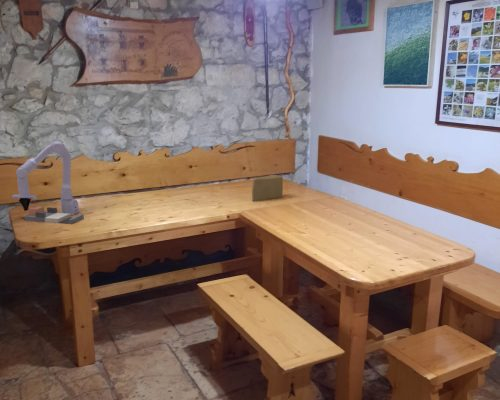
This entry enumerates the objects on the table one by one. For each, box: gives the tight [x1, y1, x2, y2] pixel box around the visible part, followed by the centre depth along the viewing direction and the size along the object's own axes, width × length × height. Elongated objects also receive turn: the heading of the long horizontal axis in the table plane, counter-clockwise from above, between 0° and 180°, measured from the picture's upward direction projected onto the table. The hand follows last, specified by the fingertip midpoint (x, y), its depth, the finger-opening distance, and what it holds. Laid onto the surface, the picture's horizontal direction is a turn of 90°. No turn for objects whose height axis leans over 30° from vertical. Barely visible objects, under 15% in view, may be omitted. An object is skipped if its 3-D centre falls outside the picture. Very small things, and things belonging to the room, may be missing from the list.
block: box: [27, 205, 45, 216], centre depth 297 cm, size 6×6×4 cm
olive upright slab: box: [251, 174, 284, 202], centre depth 333 cm, size 22×10×15 cm, turn 127°
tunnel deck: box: [23, 206, 85, 225], centre depth 294 cm, size 32×11×6 cm, turn 74°
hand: (26, 210), depth 299 cm, fingers closed
